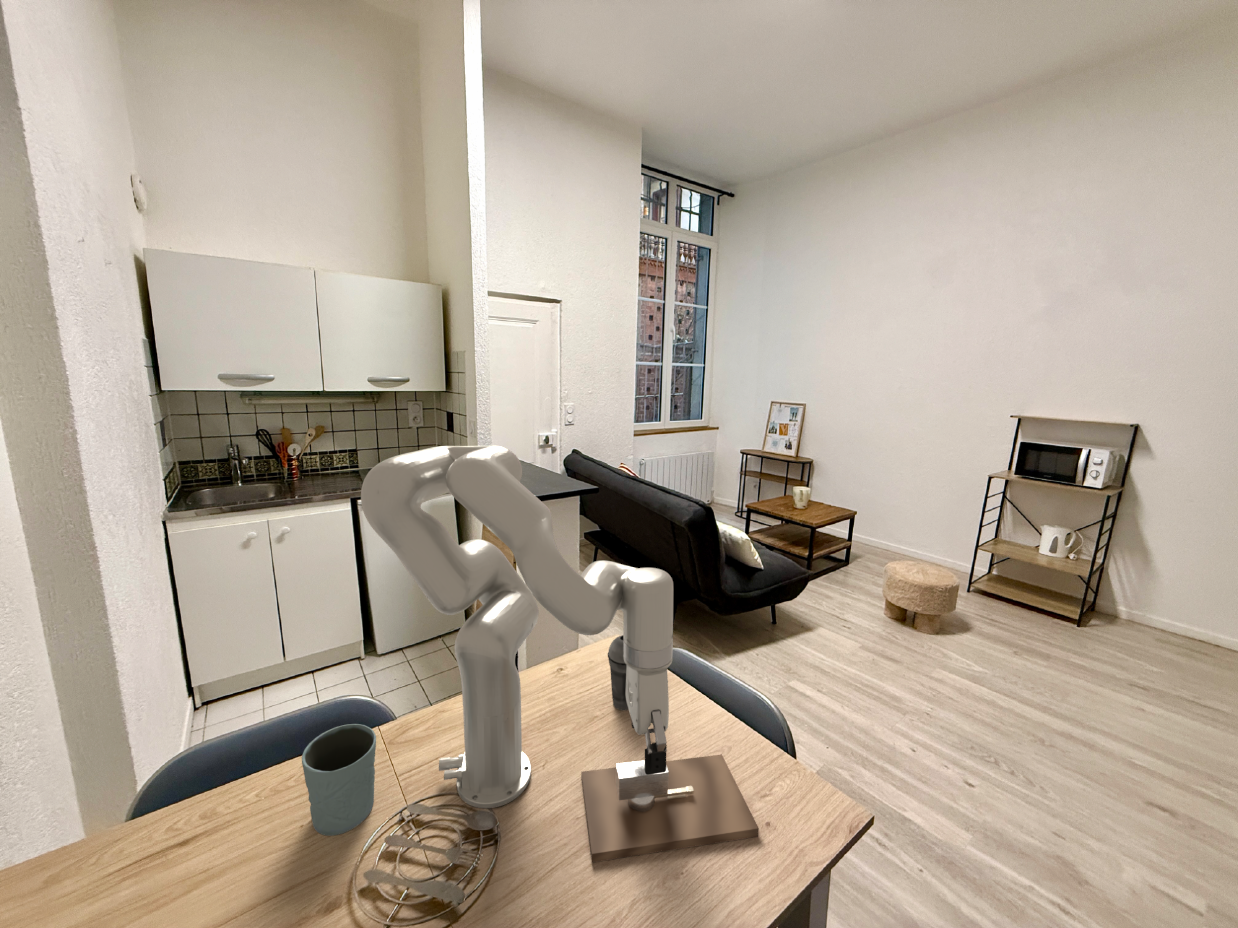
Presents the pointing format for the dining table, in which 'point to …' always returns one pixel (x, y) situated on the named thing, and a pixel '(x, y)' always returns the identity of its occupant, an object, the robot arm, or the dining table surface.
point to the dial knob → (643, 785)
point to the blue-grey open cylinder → (340, 777)
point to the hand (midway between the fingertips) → (647, 747)
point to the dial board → (667, 811)
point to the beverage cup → (618, 673)
